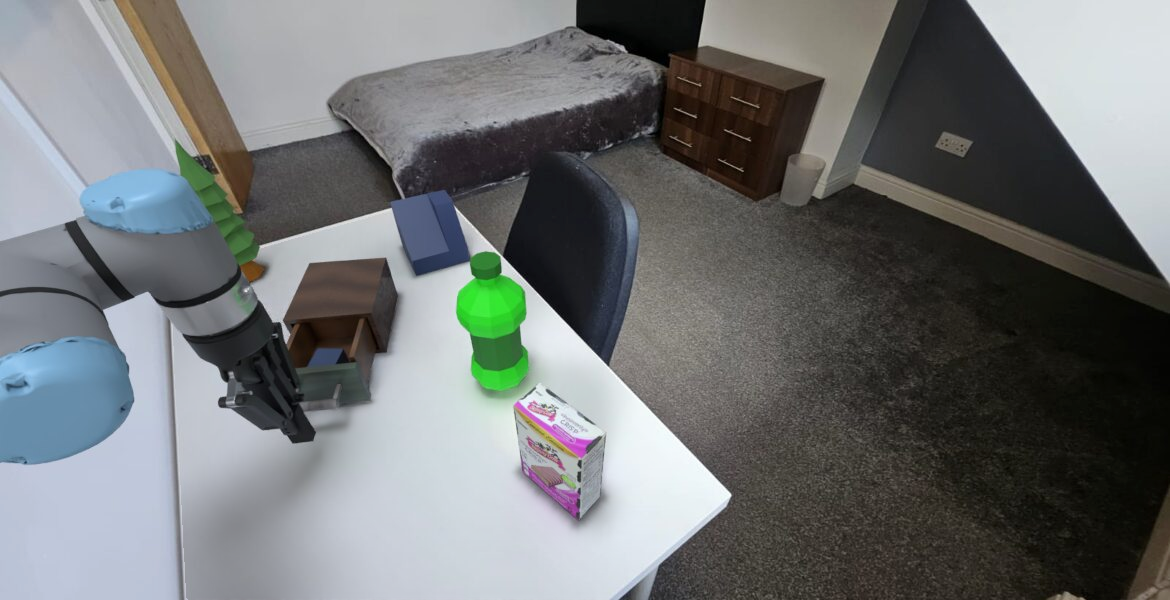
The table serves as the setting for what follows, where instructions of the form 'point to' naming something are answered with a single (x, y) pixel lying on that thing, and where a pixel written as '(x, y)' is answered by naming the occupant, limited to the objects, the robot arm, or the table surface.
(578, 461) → the candy bar box
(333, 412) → the table surface
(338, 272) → the cabinet
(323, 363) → the block
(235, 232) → the decorative tree
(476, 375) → the plastic bottle
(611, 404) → the table surface
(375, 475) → the table surface
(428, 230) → the phone stand
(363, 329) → the drawer
